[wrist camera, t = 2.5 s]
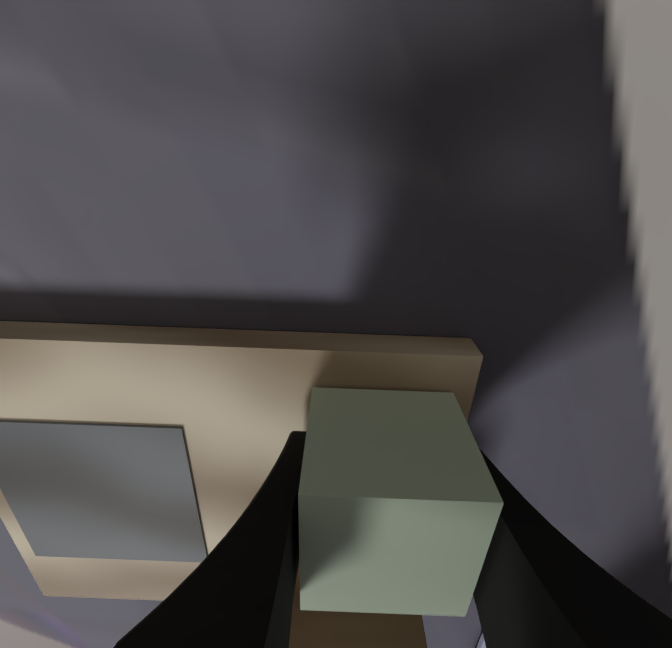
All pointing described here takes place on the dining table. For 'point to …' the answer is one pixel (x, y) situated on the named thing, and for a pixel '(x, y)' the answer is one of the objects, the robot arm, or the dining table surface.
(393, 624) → the walnut block
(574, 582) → the robot arm
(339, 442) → the sage block
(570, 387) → the dining table surface
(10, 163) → the dining table surface
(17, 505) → the baseplate
